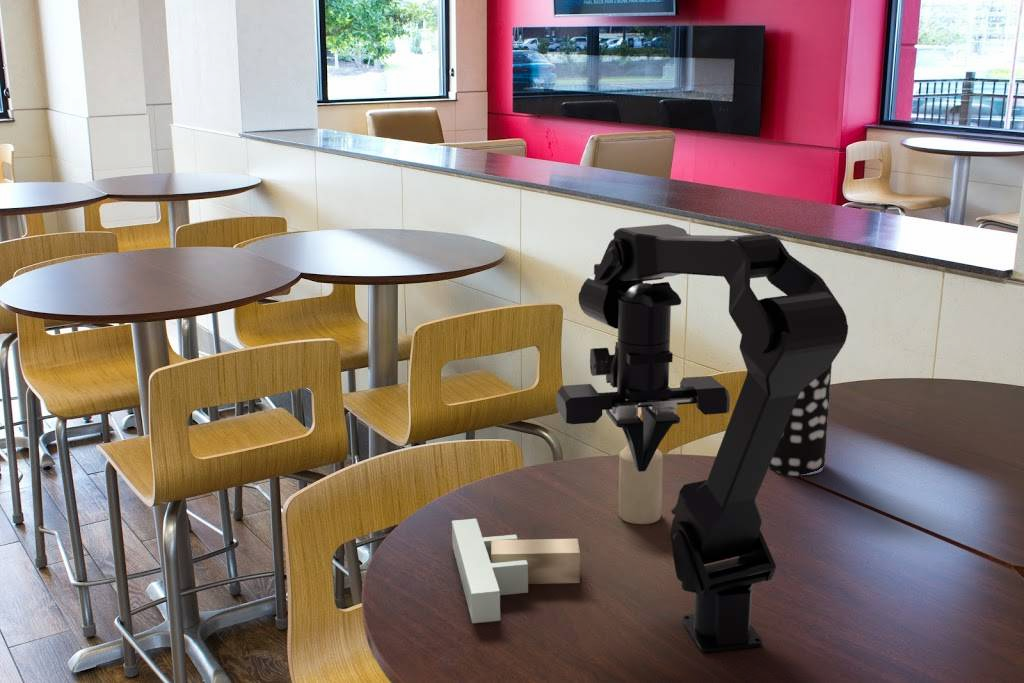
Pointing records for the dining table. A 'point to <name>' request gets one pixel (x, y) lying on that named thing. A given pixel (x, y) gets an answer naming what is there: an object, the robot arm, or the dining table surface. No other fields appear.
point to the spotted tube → (805, 431)
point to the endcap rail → (485, 571)
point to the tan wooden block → (542, 558)
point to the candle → (640, 489)
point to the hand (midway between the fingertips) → (640, 470)
